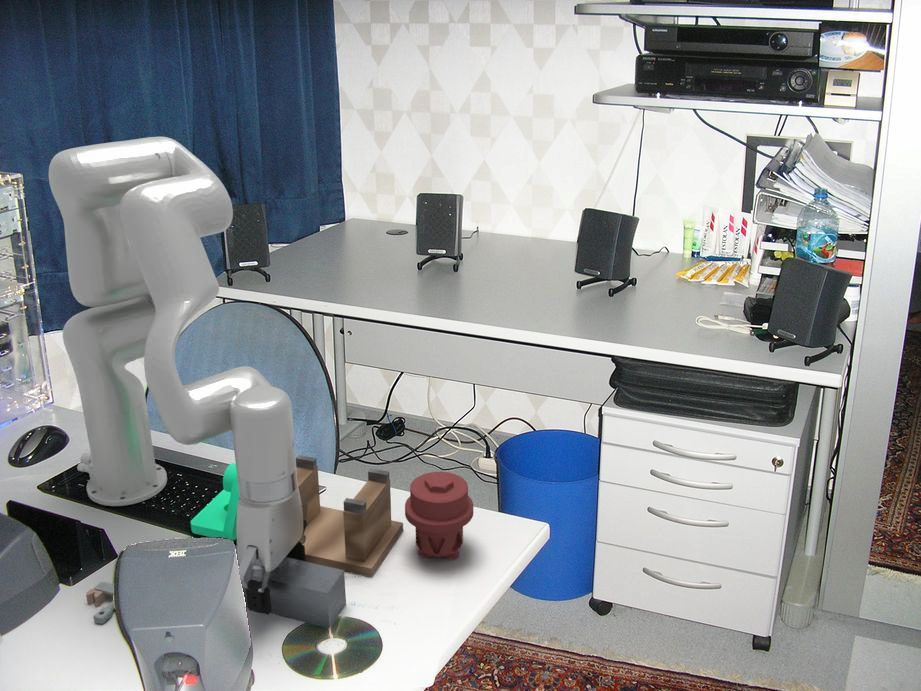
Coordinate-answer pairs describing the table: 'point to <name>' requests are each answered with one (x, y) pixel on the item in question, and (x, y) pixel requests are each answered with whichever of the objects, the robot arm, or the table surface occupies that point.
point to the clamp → (102, 600)
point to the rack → (348, 523)
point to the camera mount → (220, 510)
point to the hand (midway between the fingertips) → (278, 588)
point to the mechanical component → (439, 513)
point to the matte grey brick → (305, 591)
